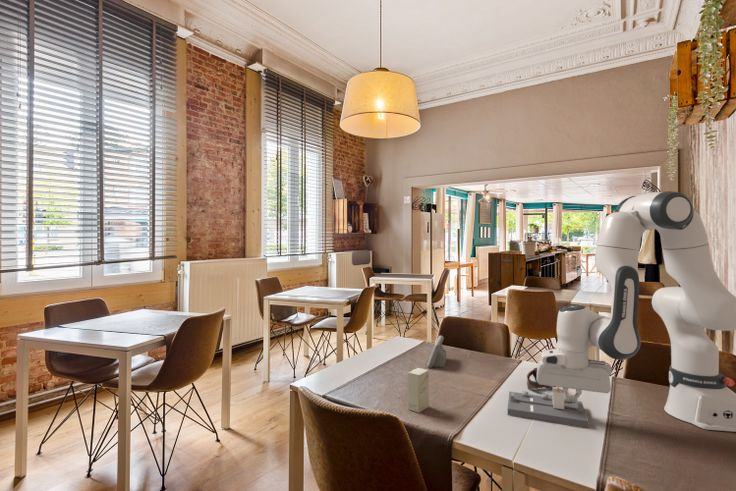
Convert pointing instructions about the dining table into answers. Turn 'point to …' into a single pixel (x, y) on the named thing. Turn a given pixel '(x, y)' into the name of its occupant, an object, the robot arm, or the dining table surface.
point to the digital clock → (437, 354)
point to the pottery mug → (532, 383)
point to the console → (546, 409)
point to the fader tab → (558, 398)
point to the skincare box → (418, 389)
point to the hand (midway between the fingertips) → (571, 402)
